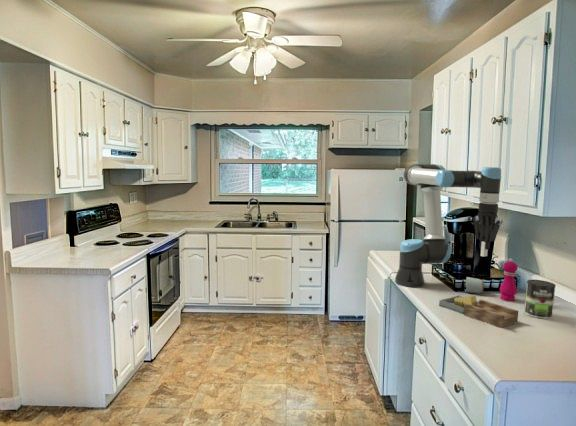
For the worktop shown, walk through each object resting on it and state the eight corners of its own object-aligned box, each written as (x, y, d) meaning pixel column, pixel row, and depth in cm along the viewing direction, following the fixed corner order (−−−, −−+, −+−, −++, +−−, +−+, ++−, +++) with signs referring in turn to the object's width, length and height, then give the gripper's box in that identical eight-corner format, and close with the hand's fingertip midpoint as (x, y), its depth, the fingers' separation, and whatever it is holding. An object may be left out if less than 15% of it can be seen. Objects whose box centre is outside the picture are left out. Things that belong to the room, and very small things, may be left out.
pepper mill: (512, 302, 188) (516, 260, 186) (496, 298, 194) (499, 258, 191) (518, 299, 193) (522, 258, 191) (502, 296, 198) (505, 256, 196)
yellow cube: (463, 306, 175) (462, 297, 176) (469, 305, 177) (467, 295, 178) (472, 306, 172) (470, 297, 172) (477, 305, 174) (475, 295, 175)
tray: (439, 305, 182) (439, 300, 182) (457, 300, 190) (458, 295, 190) (463, 313, 172) (463, 308, 172) (482, 308, 180) (482, 302, 180)
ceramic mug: (483, 296, 198) (484, 280, 197) (465, 293, 201) (466, 278, 200) (481, 290, 207) (482, 275, 207) (464, 288, 210) (465, 273, 210)
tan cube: (461, 309, 176) (453, 307, 179) (467, 308, 178) (459, 305, 181) (462, 300, 175) (454, 298, 179) (467, 299, 178) (459, 296, 181)
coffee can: (555, 320, 167) (558, 287, 165) (526, 316, 170) (529, 284, 169) (548, 312, 176) (551, 281, 175) (522, 309, 180) (524, 278, 178)
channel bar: (464, 315, 171) (464, 304, 170) (480, 310, 177) (481, 299, 177) (501, 328, 158) (502, 316, 157) (517, 322, 164) (518, 310, 164)
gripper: (469, 201, 178) (465, 253, 182) (498, 204, 167) (492, 260, 171) (480, 201, 182) (475, 252, 186) (508, 204, 171) (502, 258, 175)
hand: (483, 255), depth 178 cm, fingers closed
